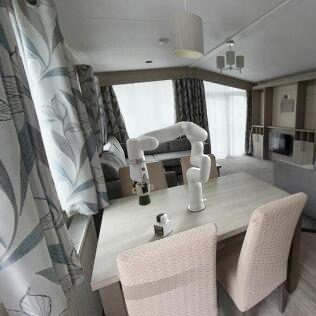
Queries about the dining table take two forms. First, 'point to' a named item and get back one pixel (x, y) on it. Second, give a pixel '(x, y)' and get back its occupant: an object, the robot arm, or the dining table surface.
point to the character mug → (143, 198)
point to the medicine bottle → (162, 225)
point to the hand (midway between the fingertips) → (140, 191)
